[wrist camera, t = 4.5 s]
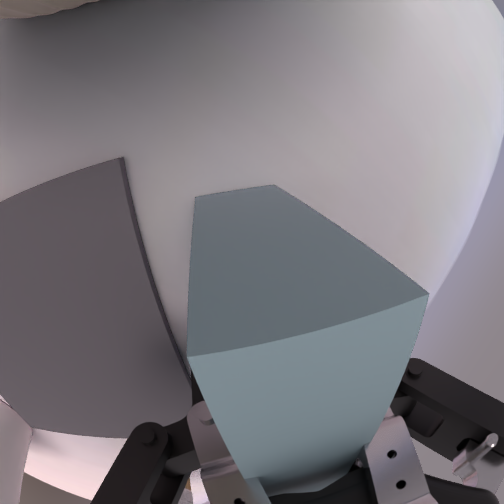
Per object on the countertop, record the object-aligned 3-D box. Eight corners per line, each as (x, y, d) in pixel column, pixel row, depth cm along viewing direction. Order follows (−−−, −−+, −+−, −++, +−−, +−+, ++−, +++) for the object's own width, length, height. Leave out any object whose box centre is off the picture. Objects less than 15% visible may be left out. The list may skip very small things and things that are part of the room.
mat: (32, 422, 14) (30, 427, 13) (-73, 245, 7) (-78, 249, 6) (212, 426, 16) (213, 433, 15) (123, 157, 9) (118, 158, 8)
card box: (290, 387, 15) (334, 500, 8) (240, 398, 15) (268, 517, 7) (277, 184, 10) (435, 291, 3) (195, 196, 10) (186, 356, 3)
